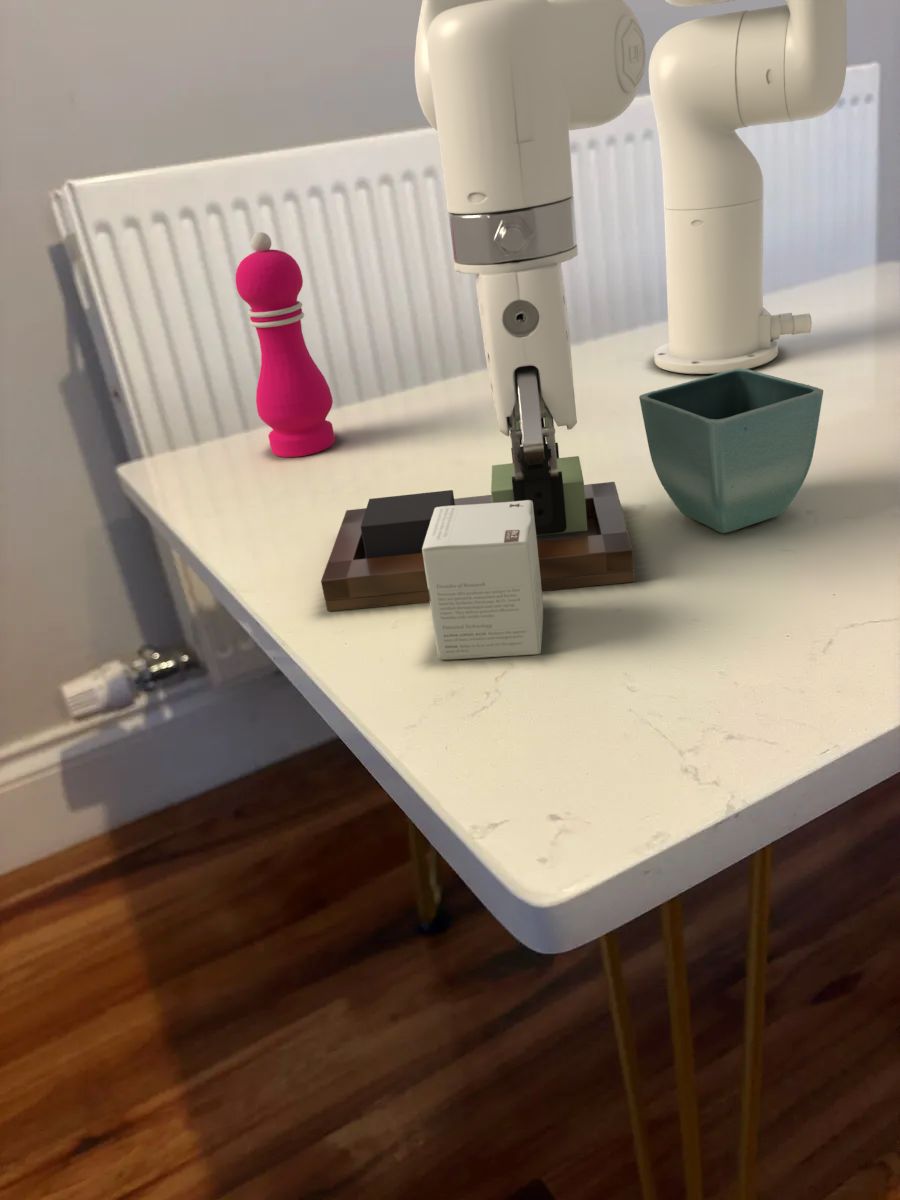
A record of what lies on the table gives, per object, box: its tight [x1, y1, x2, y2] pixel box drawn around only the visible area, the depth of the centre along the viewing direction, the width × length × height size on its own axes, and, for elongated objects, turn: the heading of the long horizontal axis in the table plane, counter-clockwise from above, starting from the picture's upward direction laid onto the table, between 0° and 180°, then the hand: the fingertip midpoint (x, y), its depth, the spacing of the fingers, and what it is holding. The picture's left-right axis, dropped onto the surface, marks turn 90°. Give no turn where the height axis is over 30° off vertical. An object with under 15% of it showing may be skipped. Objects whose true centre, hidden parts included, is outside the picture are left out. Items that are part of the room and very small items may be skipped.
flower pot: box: [638, 368, 824, 534], centre depth 70 cm, size 9×9×9 cm
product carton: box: [422, 500, 544, 661], centre depth 60 cm, size 6×6×7 cm
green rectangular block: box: [490, 455, 587, 536], centre depth 69 cm, size 6×5×4 cm
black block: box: [361, 489, 455, 559], centre depth 71 cm, size 6×5×4 cm
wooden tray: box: [320, 481, 636, 612], centre depth 71 cm, size 20×12×2 cm, turn 87°
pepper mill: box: [235, 231, 336, 458], centre depth 95 cm, size 7×7×20 cm
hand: (540, 513), depth 70 cm, fingers closed on green rectangular block, 5 cm apart
